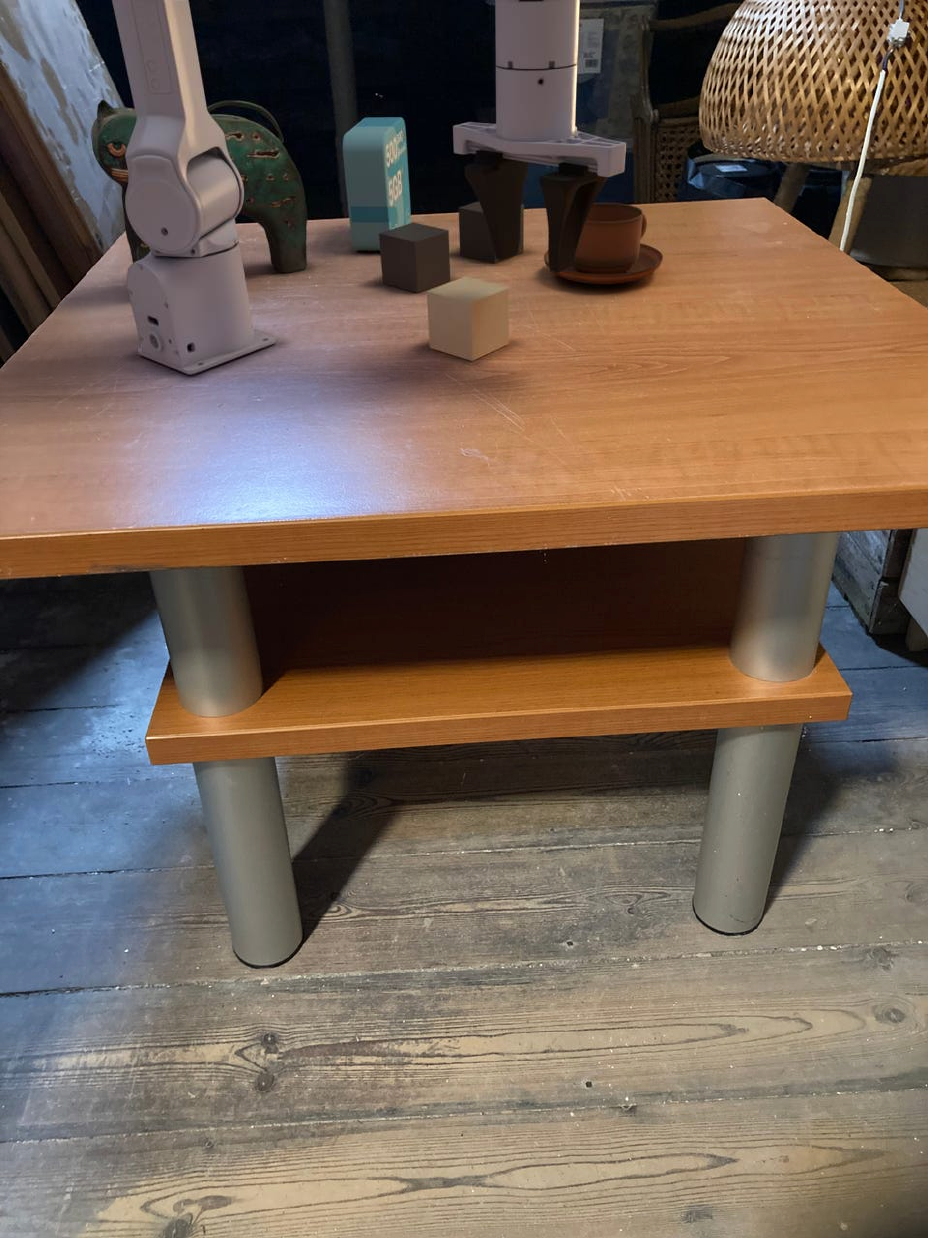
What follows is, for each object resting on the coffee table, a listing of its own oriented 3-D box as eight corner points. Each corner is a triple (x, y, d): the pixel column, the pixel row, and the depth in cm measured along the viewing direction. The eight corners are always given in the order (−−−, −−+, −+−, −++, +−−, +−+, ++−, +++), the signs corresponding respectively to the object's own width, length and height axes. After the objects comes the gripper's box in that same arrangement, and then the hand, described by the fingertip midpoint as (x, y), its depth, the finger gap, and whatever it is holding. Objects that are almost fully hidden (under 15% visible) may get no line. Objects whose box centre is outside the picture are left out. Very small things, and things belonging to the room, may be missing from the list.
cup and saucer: (574, 251, 106) (576, 192, 102) (678, 266, 101) (684, 204, 97) (523, 283, 98) (523, 219, 94) (633, 301, 92) (638, 234, 89)
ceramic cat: (135, 308, 95) (81, 77, 83) (118, 290, 100) (65, 70, 88) (320, 271, 103) (295, 55, 91) (296, 256, 107) (269, 49, 95)
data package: (391, 254, 107) (382, 135, 100) (352, 254, 107) (340, 135, 100) (411, 225, 116) (405, 114, 109) (375, 224, 117) (366, 114, 110)
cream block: (472, 361, 82) (470, 302, 79) (429, 348, 84) (426, 290, 81) (509, 343, 85) (509, 286, 82) (466, 331, 87) (465, 275, 84)
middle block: (417, 293, 96) (414, 241, 93) (382, 283, 99) (378, 233, 96) (450, 280, 99) (449, 229, 96) (415, 271, 102) (413, 221, 99)
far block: (494, 263, 103) (494, 214, 100) (459, 255, 106) (458, 207, 103) (523, 252, 106) (524, 204, 103) (489, 244, 109) (488, 197, 106)
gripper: (656, 64, 66) (640, 266, 74) (493, 51, 74) (495, 235, 82) (596, 77, 62) (586, 290, 70) (431, 63, 70) (439, 255, 78)
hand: (533, 262), depth 76 cm, fingers open, 5 cm apart
